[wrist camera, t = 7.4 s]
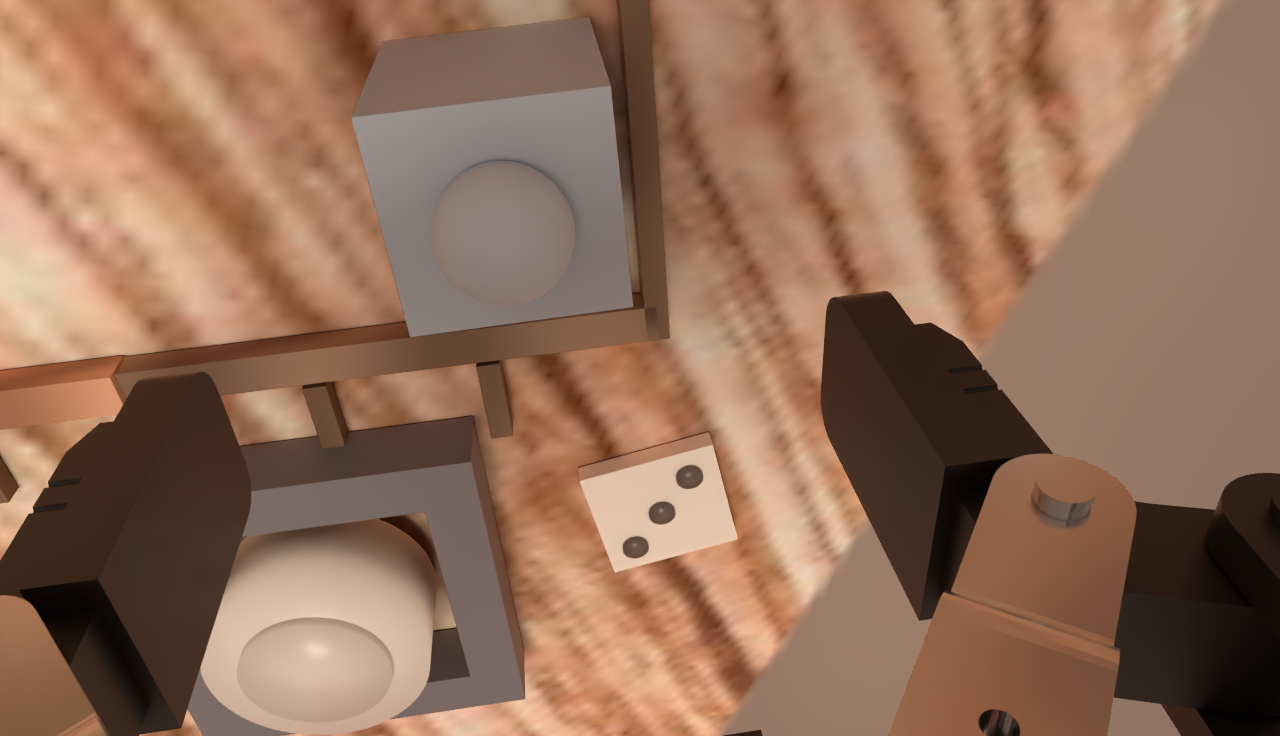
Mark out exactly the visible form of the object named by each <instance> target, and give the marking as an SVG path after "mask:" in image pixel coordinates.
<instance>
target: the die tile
mask: <svg viewBox="0 0 1280 736" xmlns="http://www.w3.org/2000/svg"><path fill="white" fill-rule="evenodd" d="M578 473H579V482H580V484H581V487H582V489H583V492H584V494H585V497H586V500H587V502H588V505H589V507H590V510H591V512H592V515H593V518H594V520H595V523H596V525H597V528H598V530H599V533H600V536H601V538H602V541H603V543H604V546H605V548H606V551H607V554H608V556H609V559H610V561H611V564H612V566H613V569H614V572H619V571H622V570H626V569H630V568H633V567H637V566H641V565H645V564H648V563H652V562H656V561H659V560H663V559H667V558H670V557H674V556H678V555H682V554H685V553H689V552H693V551H696V550H700V549H704V548H707V547H711V546H715V545H719V544H722V543H726V542H730V541H733V540H737V539H738V538H737V534H736V531H735V527H734V523H733V519H732V516H731V512H730V508H729V504H728V501H727V497H726V493H725V489H724V486H723V482H722V478H721V474H720V470H719V467H718V463H717V459H716V455H715V452H714V448H713V444H712V441H711V438H710V434H709V432H707V433H703V434H700V435H696V436H692V437H689V438H685V439H681V440H678V441H674V442H671V443H667V444H663V445H660V446H656V447H652V448H649V449H645V450H641V451H638V452H634V453H631V454H627V455H623V456H620V457H616V458H612V459H609V460H605V461H602V462H598V463H594V464H591V465H587V466H583V467H580V468H578Z"/></svg>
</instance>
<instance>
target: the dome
mask: <svg viewBox="0 0 1280 736" xmlns="http://www.w3.org/2000/svg"><path fill="white" fill-rule="evenodd" d="M435 600H436V575H435V570H434V568H433V565H432V562H431V560H430V559H429V557H428V555H427V554H426V552H425V551H424V550H423V549H422V547H421V546H420V545H419V544H418V543H417V542H416V541H415V540H414V539H413V538H411V537H410V536H409V535H407V534H406V533H405V532H403V531H402V530H400V529H398V528H397V527H395V526H393V525H391V524H389V523H387V522H384V521H382V520H379V519H370V520H363V521H355V522H348V523H341V524H333V525H326V526H319V527H311V528H304V529H297V530H290V531H282V532H275V533H268V534H260V535H253V536H247V537H246V538H245V539H244V540H243V541H242V542H241V543H240V545H239V548H238V551H237V554H236V557H235V560H234V563H233V567H232V570H231V573H230V576H229V579H228V582H227V585H226V589H225V592H224V595H223V598H222V601H221V604H220V607H219V611H218V614H217V617H216V620H215V623H214V626H213V630H212V633H211V636H210V639H209V642H208V645H207V648H206V652H205V655H204V658H203V661H202V664H201V667H200V670H201V675H202V677H203V679H204V682H205V684H206V685H207V687H208V688H209V690H210V692H211V693H212V694H213V695H214V696H215V697H216V698H217V700H218V701H219V702H221V703H222V704H223V705H224V706H225V707H227V708H228V709H229V710H231V711H232V712H234V713H236V714H237V715H239V716H241V717H243V718H245V719H247V720H249V721H251V722H253V723H256V724H258V725H261V726H264V727H267V728H271V729H274V730H279V731H283V732H288V733H296V734H306V735H332V734H341V733H348V732H353V731H359V730H362V729H366V728H369V727H372V726H375V725H378V724H380V723H383V722H385V721H387V720H389V719H391V718H393V717H395V716H396V715H398V714H399V713H401V712H402V711H404V710H405V709H406V708H407V707H409V706H410V705H411V704H412V703H413V702H414V701H415V700H416V699H417V698H418V697H419V695H420V694H421V692H422V691H423V689H424V687H425V685H426V683H427V680H428V677H429V672H430V663H431V650H432V638H433V625H434V612H435Z"/></svg>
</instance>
